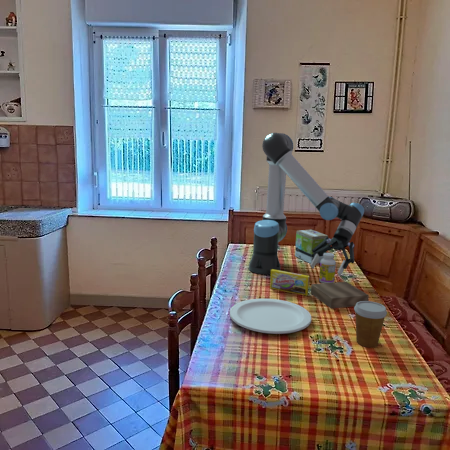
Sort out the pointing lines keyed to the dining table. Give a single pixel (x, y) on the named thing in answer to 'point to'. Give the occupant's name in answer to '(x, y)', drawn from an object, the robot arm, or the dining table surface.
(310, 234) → the tea box
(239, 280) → the dining table surface
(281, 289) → the candy box
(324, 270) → the supplement bottle
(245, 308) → the plate
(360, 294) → the walnut stand
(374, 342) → the disposable coffee cup
